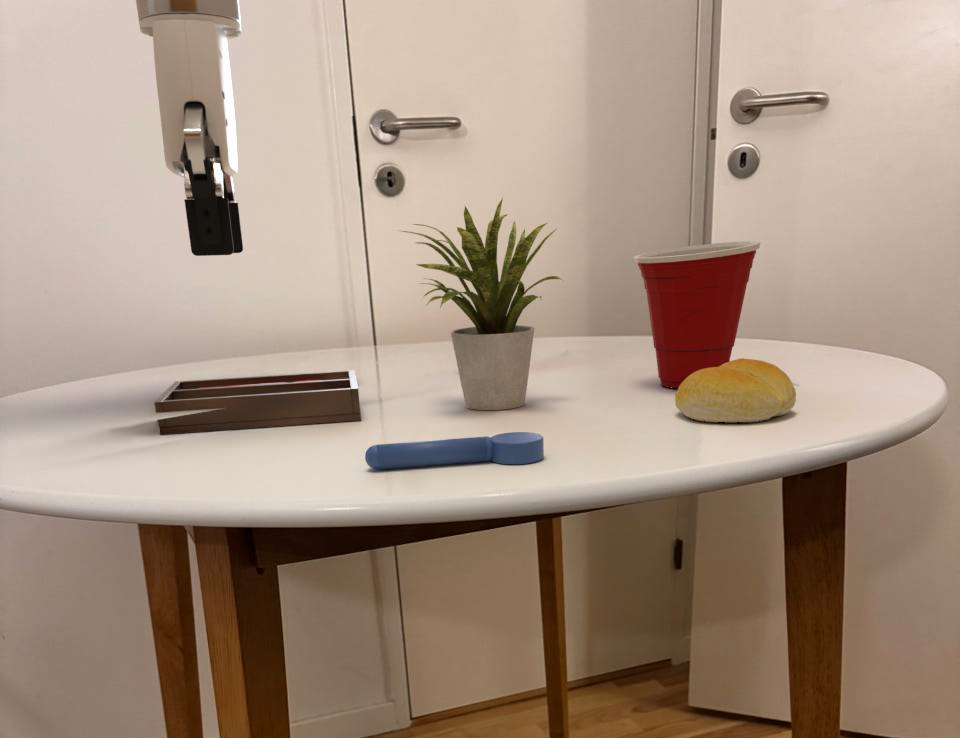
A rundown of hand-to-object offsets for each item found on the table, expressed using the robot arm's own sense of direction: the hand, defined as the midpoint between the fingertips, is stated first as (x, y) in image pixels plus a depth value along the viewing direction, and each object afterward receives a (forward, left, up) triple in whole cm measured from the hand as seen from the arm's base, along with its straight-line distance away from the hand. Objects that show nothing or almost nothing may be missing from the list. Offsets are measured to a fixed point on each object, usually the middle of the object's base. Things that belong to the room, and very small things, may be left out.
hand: (219, 254), depth 78 cm
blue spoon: (0, -30, -13) cm, 33 cm away
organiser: (+1, -3, -13) cm, 13 cm away
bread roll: (+24, -35, -13) cm, 44 cm away
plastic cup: (+33, -24, -13) cm, 43 cm away
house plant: (+16, -15, -13) cm, 26 cm away
